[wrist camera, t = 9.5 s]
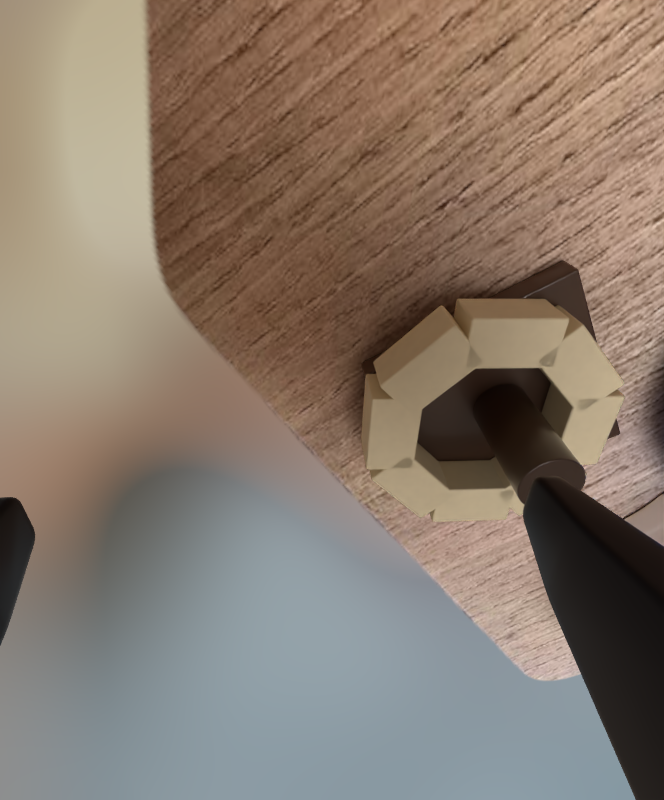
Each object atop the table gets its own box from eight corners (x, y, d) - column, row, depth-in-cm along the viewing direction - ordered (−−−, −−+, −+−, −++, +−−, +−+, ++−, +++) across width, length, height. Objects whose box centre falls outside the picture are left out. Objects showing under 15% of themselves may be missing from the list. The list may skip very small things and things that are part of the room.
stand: (360, 362, 20) (381, 453, 15) (563, 259, 19) (667, 322, 13) (437, 491, 25) (473, 595, 20) (607, 419, 23) (697, 513, 18)
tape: (314, 409, 20) (316, 437, 19) (513, 242, 17) (538, 258, 15) (450, 520, 24) (461, 551, 23) (630, 404, 21) (659, 431, 19)
